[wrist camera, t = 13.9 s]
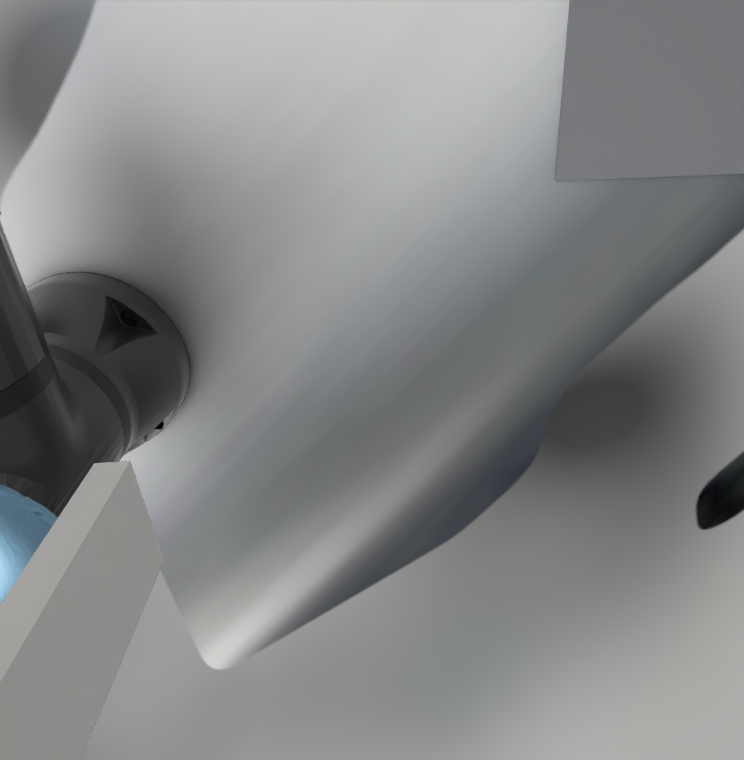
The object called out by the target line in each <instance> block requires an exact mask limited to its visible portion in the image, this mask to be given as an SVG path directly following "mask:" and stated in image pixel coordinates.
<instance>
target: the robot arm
mask: <svg viewBox="0 0 744 760" xmlns="http://www.w3.org/2000/svg"><path fill="white" fill-rule="evenodd" d="M0 215H1V212H0ZM189 381H190V364H189V358H188V354H187V350H186V347H185V344H184V342H183V339H182V337H181V335H180V333H179V332H178V330H177V328H176V327H175V325H174V324H173V322H172V321H171V320H170V318H169V317H168V316H167V315H166V314H165V312H164V311H163V310H162V309H161V308H160V307H159V306H158V305H157V304H156V303H154V302H153V301H152V300H151V299H150V298H148V297H147V296H146V295H144V294H143V293H141V292H140V291H138V290H137V289H135V288H133V287H131V286H129V285H127V284H125V283H123V282H121V281H118V280H116V279H113V278H110V277H107V276H103V275H98V274H93V273H83V272H72V273H62V274H57V275H53V276H50V277H47V278H45V279H42V280H40V281H38V282H37V283H35V284H33V285H32V286H30V287H29V288H28V289H26V287H25V284H24V282H23V279H22V277H21V274H20V271H19V269H18V266H17V264H16V261H15V259H14V256H13V253H12V251H11V248H10V246H9V243H8V240H7V238H6V235H5V233H4V230H3V227H2V225H1V222H0V760H81V758H82V756H83V753H84V751H85V748H86V746H87V744H88V741H89V739H90V737H91V734H92V732H93V729H94V727H95V724H96V722H97V720H98V717H99V715H100V713H101V710H102V708H103V705H104V703H105V701H106V698H107V696H108V693H109V691H110V689H111V686H112V683H113V681H114V679H115V676H116V674H117V672H118V669H119V667H120V665H121V662H122V660H123V657H124V655H125V653H126V650H127V648H128V645H129V643H130V641H131V638H132V635H133V633H134V631H135V628H136V626H137V624H138V621H139V619H140V617H141V614H142V612H143V609H144V607H145V604H146V602H147V600H148V597H149V595H150V593H151V590H152V587H153V585H154V583H155V580H156V578H157V575H158V573H159V571H160V569H161V566H162V564H163V561H164V558H163V555H162V552H161V549H160V546H159V543H158V540H157V538H156V535H155V532H154V529H153V526H152V523H151V520H150V517H149V514H148V511H147V508H146V505H145V503H144V500H143V497H142V494H141V491H140V488H139V485H138V482H137V479H136V476H135V473H134V470H133V468H132V465H131V462H130V461H121V462H119V461H120V459H121V458H122V456H124V455H125V454H127V453H128V452H130V451H132V450H133V449H135V448H137V447H138V446H140V445H142V444H143V443H144V442H146V441H148V440H150V439H151V438H153V437H154V436H156V435H157V434H159V433H160V432H161V431H162V430H163V429H164V428H165V427H166V426H167V425H168V424H169V423H170V422H171V420H172V419H173V418H174V416H175V414H176V413H177V411H178V409H179V408H180V406H181V404H182V402H183V400H184V398H185V396H186V393H187V390H188V387H189Z"/></svg>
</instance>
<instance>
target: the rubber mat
mask: <svg viewBox="0 0 744 760" xmlns="http://www.w3.org/2000/svg"><path fill="white" fill-rule="evenodd" d="M722 174H744V0H570V4H569V16H568V28H567V40H566V52H565V63H564V75H563V87H562V99H561V111H560V123H559V135H558V147H557V159H556V170H555V181H575V180H600V179H624V178H649V177H673V176H698V175H722Z"/></svg>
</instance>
